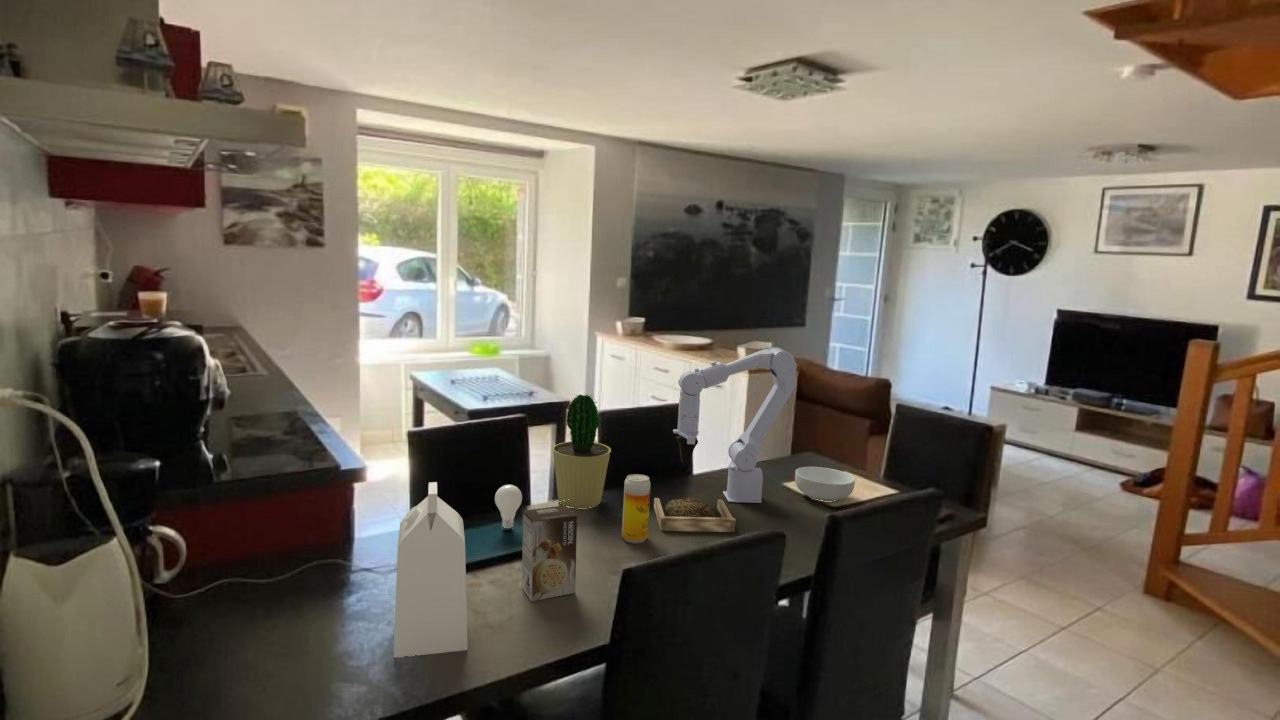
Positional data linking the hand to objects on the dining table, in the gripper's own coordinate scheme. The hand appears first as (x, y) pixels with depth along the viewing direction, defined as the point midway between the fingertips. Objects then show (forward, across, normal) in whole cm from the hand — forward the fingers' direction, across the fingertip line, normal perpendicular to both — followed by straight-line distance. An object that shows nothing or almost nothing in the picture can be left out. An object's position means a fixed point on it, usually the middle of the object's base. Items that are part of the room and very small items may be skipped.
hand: (685, 462), depth 192 cm
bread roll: (+10, +14, 0) cm, 17 cm away
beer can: (+10, +30, -16) cm, 35 cm away
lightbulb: (+10, +26, -46) cm, 54 cm away
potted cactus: (+10, +6, -29) cm, 31 cm away
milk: (+10, +72, -54) cm, 91 cm away
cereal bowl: (+10, -2, +41) cm, 42 cm away
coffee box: (+10, +56, -35) cm, 67 cm away
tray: (+10, +16, 0) cm, 19 cm away
